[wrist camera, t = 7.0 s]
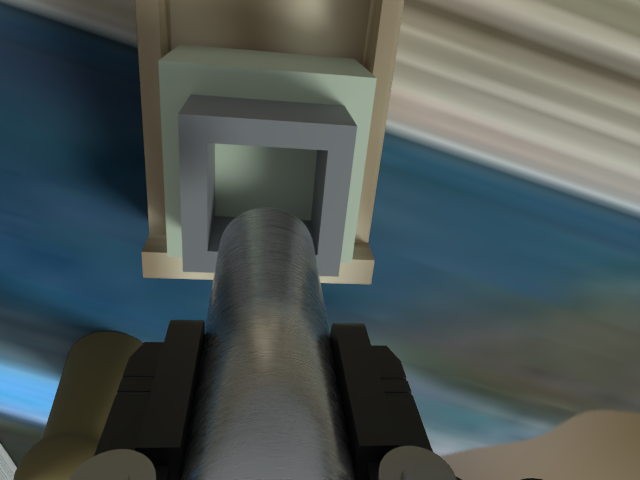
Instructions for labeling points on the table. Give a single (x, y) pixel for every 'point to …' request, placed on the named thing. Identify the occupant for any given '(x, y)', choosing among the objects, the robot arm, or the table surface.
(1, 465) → the ink box
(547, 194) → the table surface
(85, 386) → the cork
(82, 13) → the table surface
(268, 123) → the square socket block
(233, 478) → the peg
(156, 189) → the bay
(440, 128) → the table surface
